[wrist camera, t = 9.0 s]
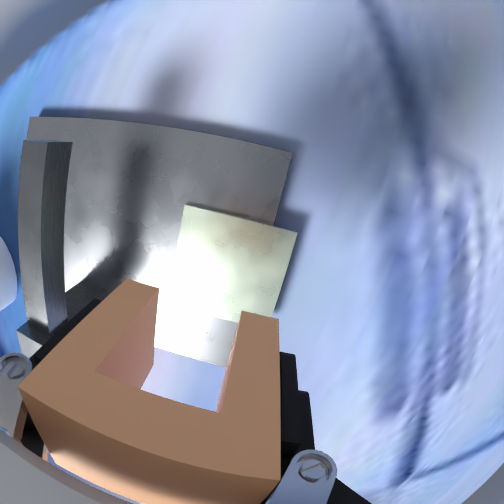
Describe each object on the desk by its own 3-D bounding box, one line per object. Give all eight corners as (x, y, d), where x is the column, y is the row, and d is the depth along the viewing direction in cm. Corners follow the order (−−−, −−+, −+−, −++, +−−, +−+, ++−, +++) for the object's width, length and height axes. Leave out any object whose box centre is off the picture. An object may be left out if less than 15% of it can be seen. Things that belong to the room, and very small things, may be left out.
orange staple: (127, 278, 11) (17, 386, 4) (278, 319, 11) (280, 480, 4) (125, 355, 12) (56, 463, 5) (252, 391, 12) (239, 525, 6)
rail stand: (38, 117, 17) (-44, 116, 8) (315, 160, 17) (352, 159, 8) (31, 286, 22) (-30, 329, 14) (253, 365, 22) (240, 457, 13)
